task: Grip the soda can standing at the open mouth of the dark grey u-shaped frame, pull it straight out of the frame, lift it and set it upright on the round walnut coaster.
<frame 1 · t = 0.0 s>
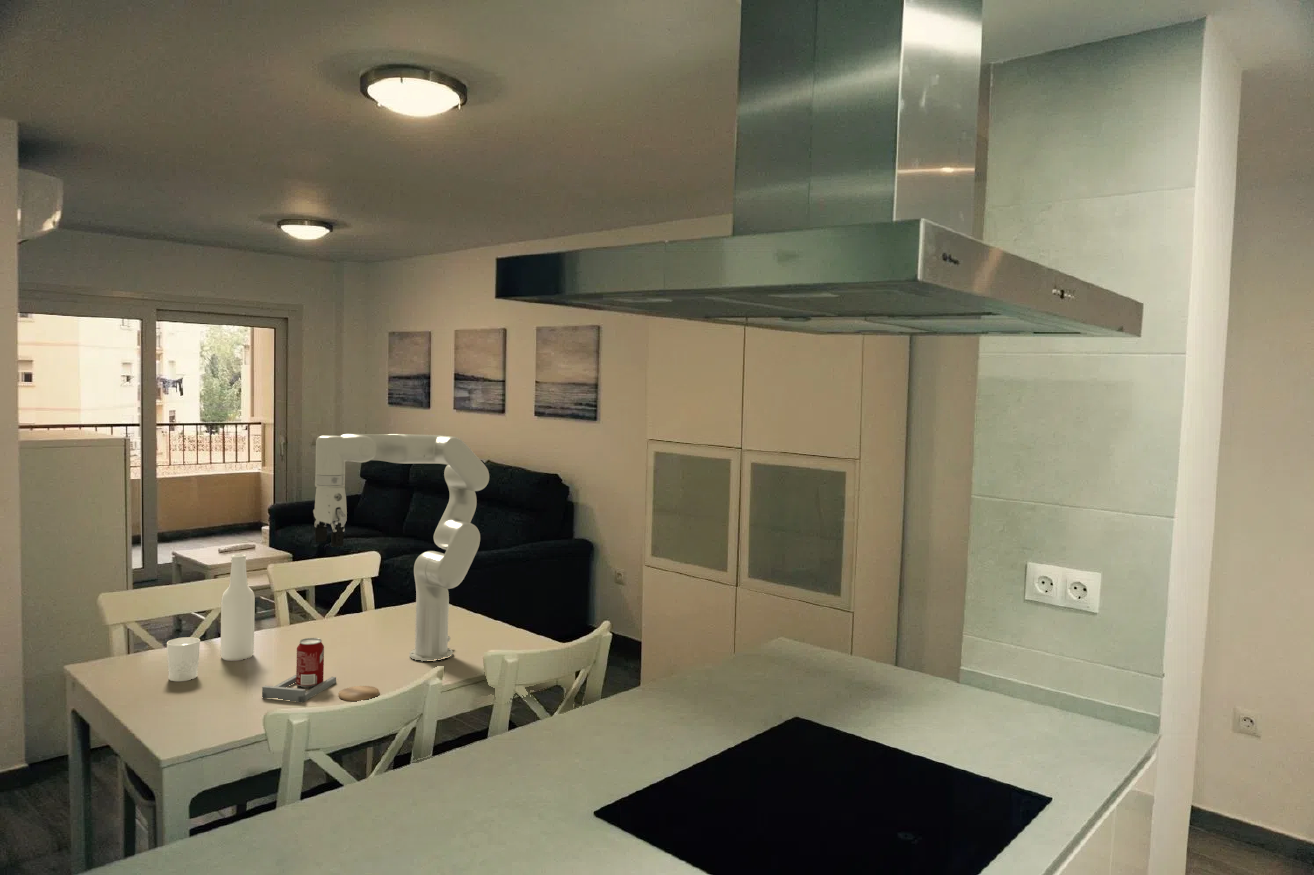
hand: (328, 543, 234), 37 cm above the table, tool pointing down, fingers open, 9 cm apart
soda can: (309, 685, 230), on the table
u-shaped frame: (300, 690, 226), on the table
alcohol: (237, 657, 252), on the table
white cup: (183, 678, 232), on the table
coaster: (358, 694, 224), on the table
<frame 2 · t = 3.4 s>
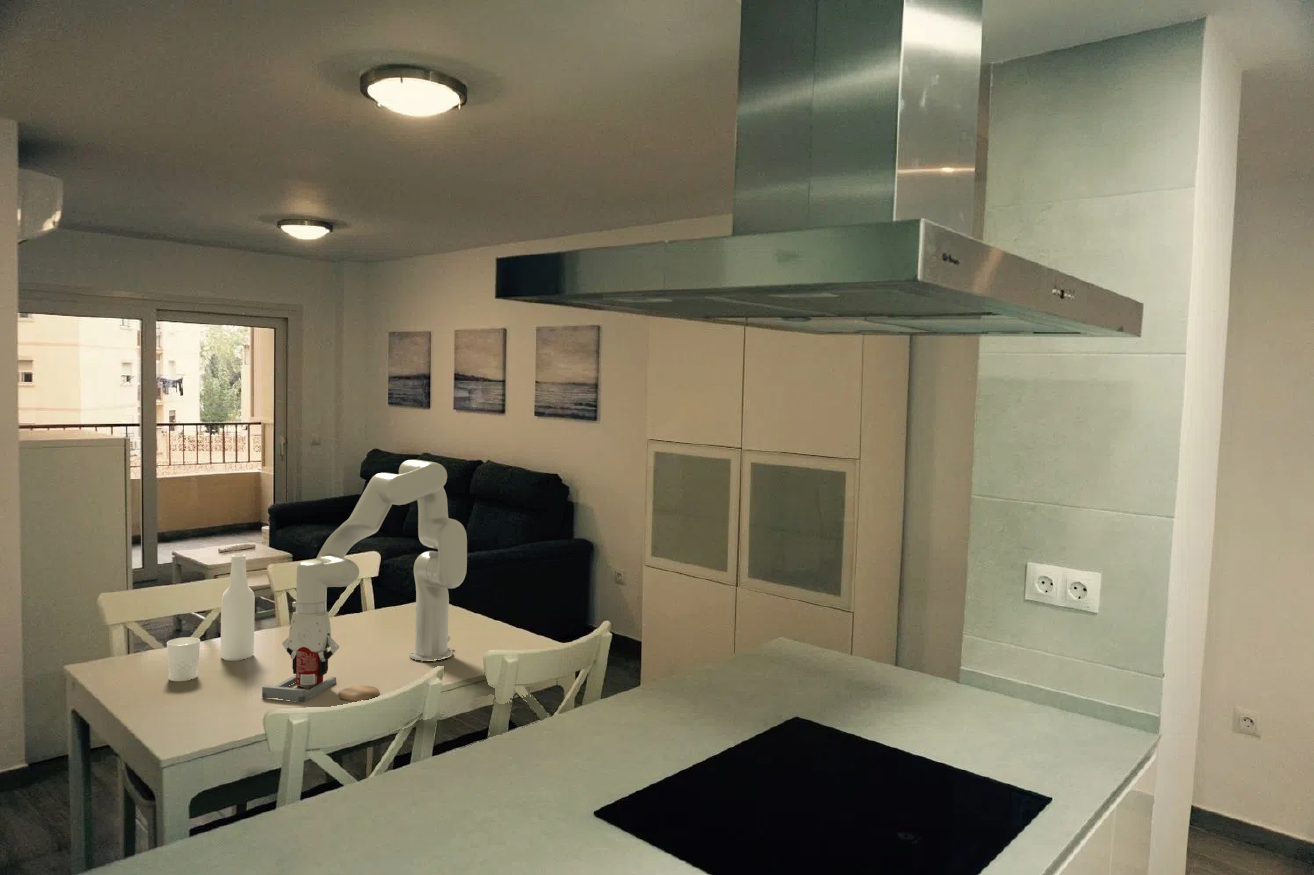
hand: (310, 672, 230), 3 cm above the table, tool pointing down, fingers closed on soda can, 6 cm apart
soda can: (309, 685, 230), on the table, touching gripper
everything else where it was.
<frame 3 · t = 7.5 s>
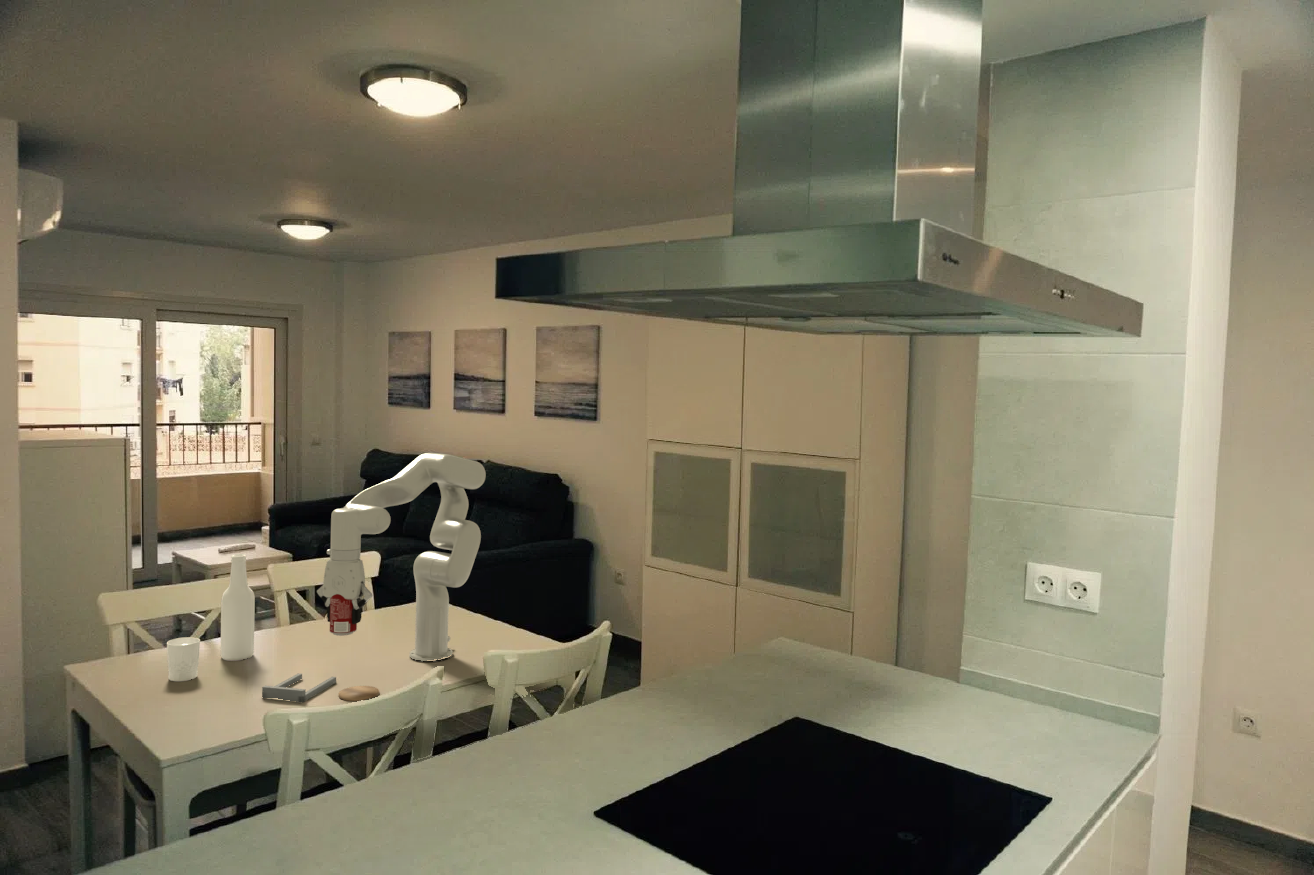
hand: (344, 621, 229), 18 cm above the table, tool pointing down, fingers closed on soda can, 6 cm apart
soda can: (343, 633, 229), point 14 cm above the table, touching gripper
everything else where it was.
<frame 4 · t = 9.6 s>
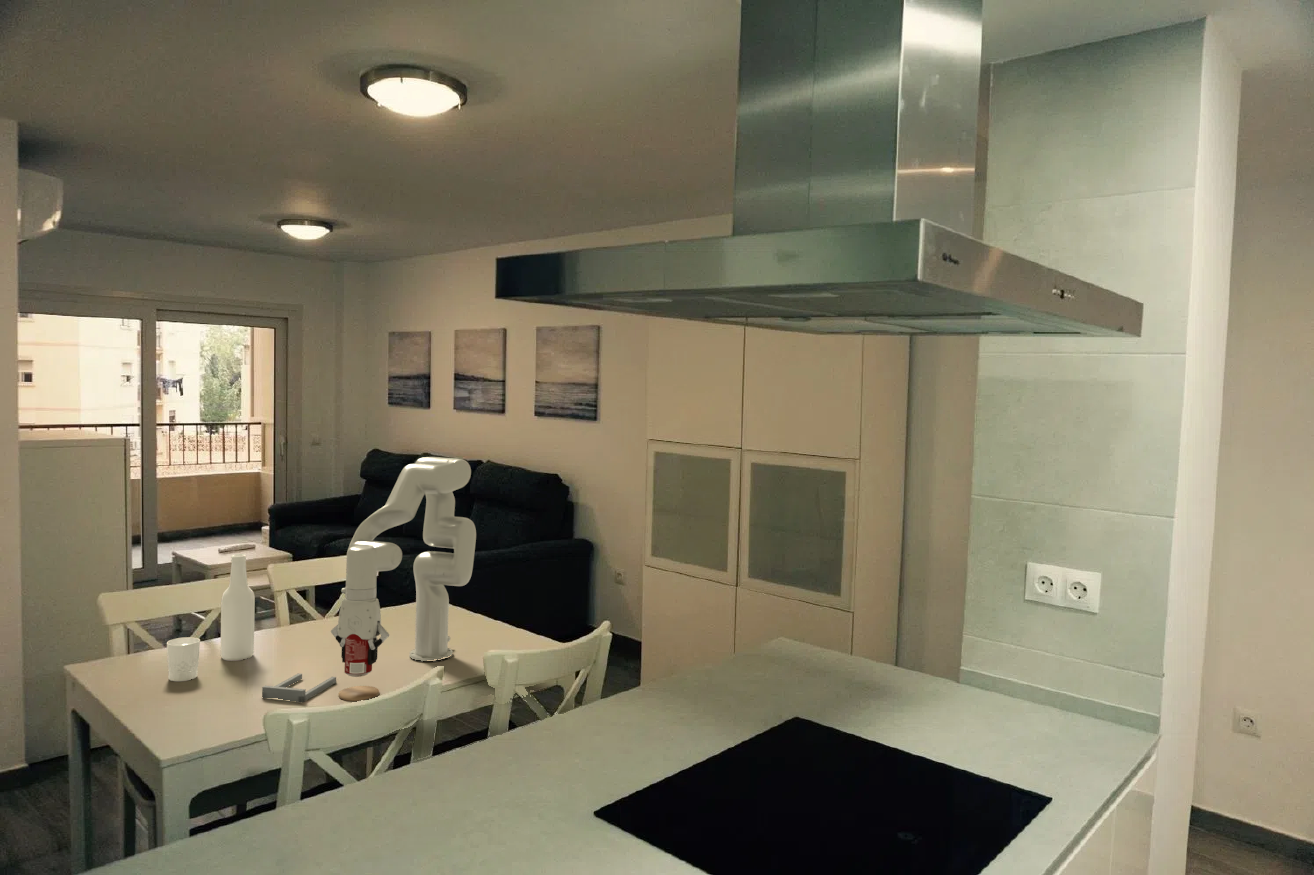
hand: (359, 661, 224), 9 cm above the table, tool pointing down, fingers closed on soda can, 6 cm apart
soda can: (358, 674, 224), point 5 cm above the table, touching gripper
everything else where it was.
when the fingers open (5 cm above the table, at t = 11.2 s): soda can drops 1 cm, resting on coaster.
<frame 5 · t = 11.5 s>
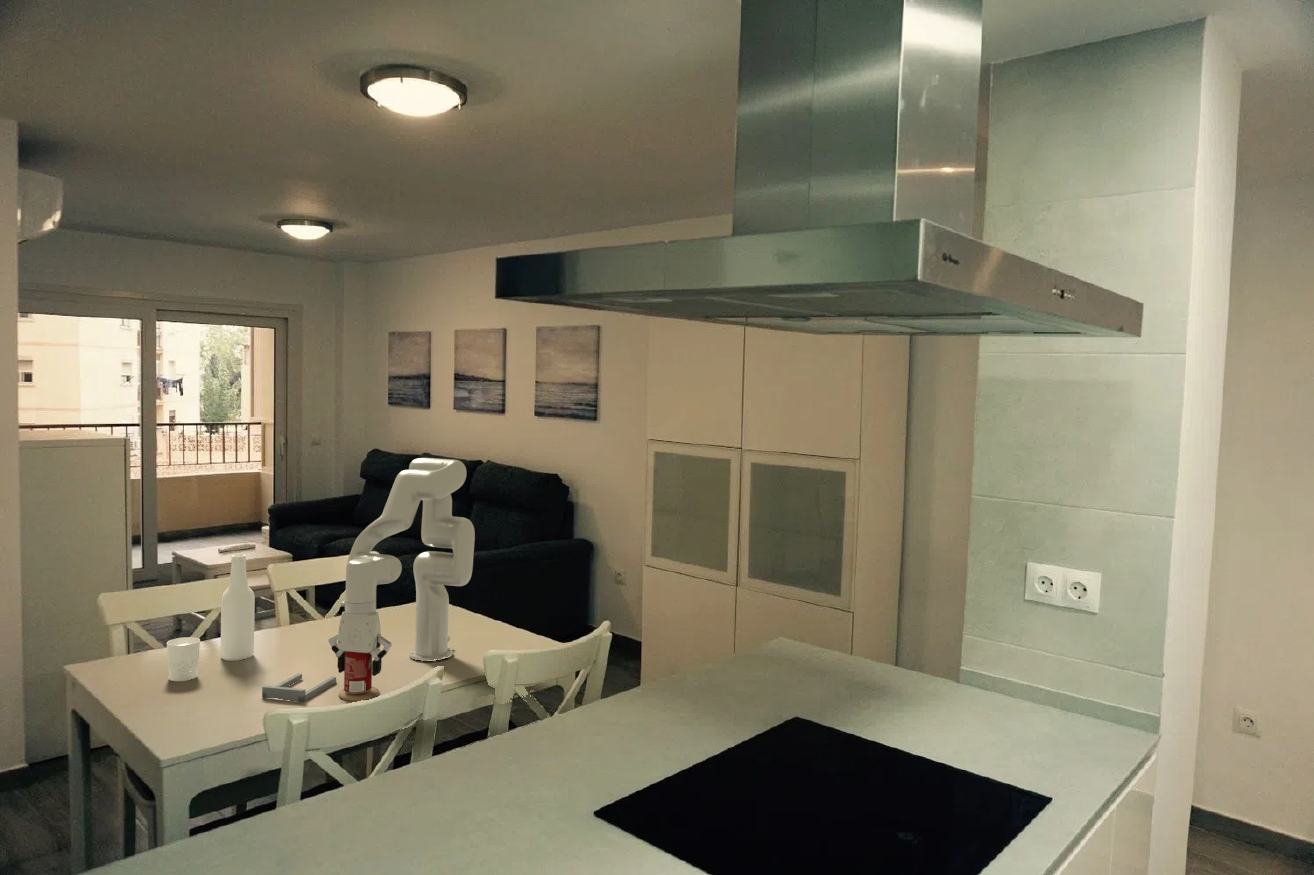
hand: (359, 672, 224), 6 cm above the table, tool pointing down, fingers open, 9 cm apart
soda can: (357, 692, 224), resting on coaster
everything else where it was.
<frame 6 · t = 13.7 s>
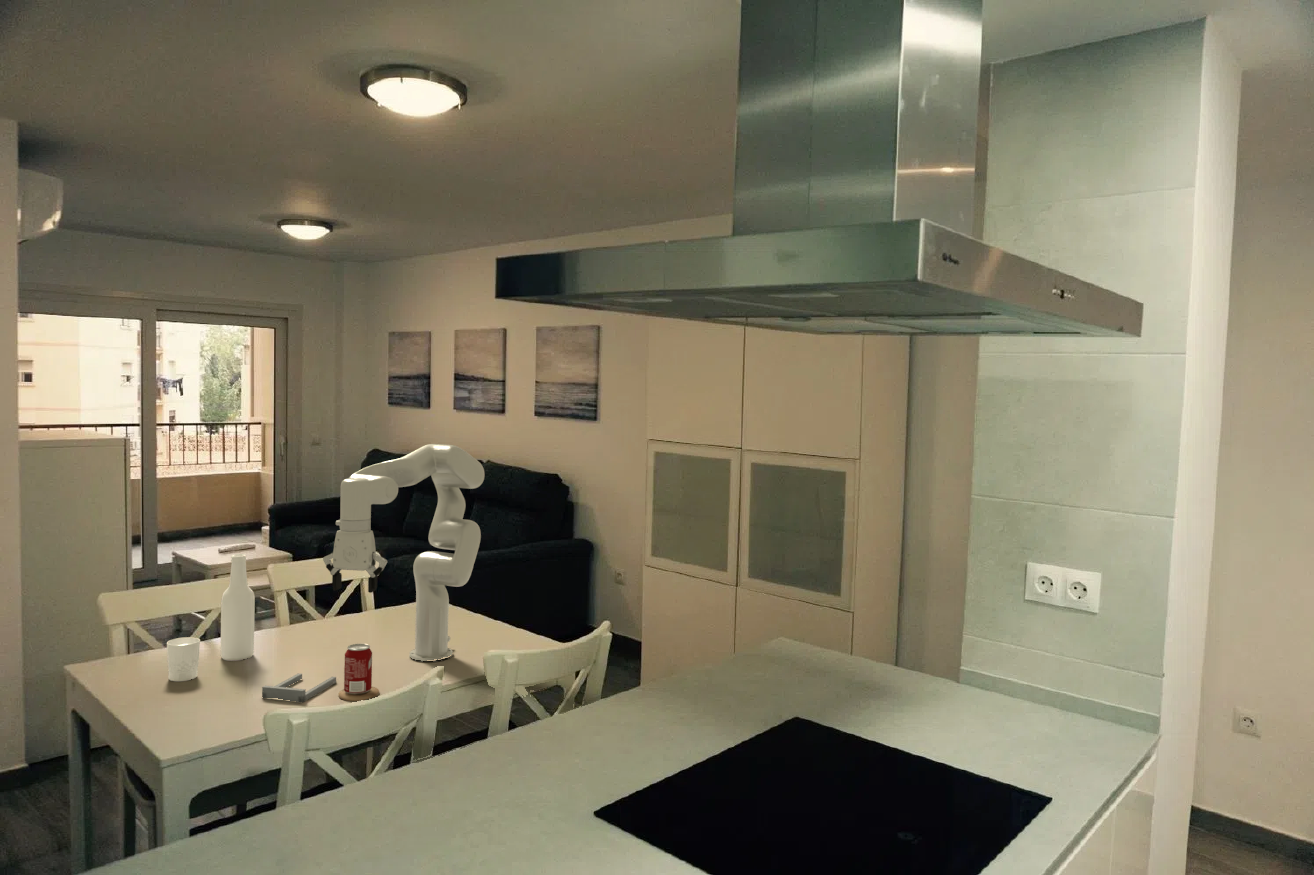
hand: (354, 590, 226), 27 cm above the table, tool pointing down, fingers open, 9 cm apart
nothing on the table moved.
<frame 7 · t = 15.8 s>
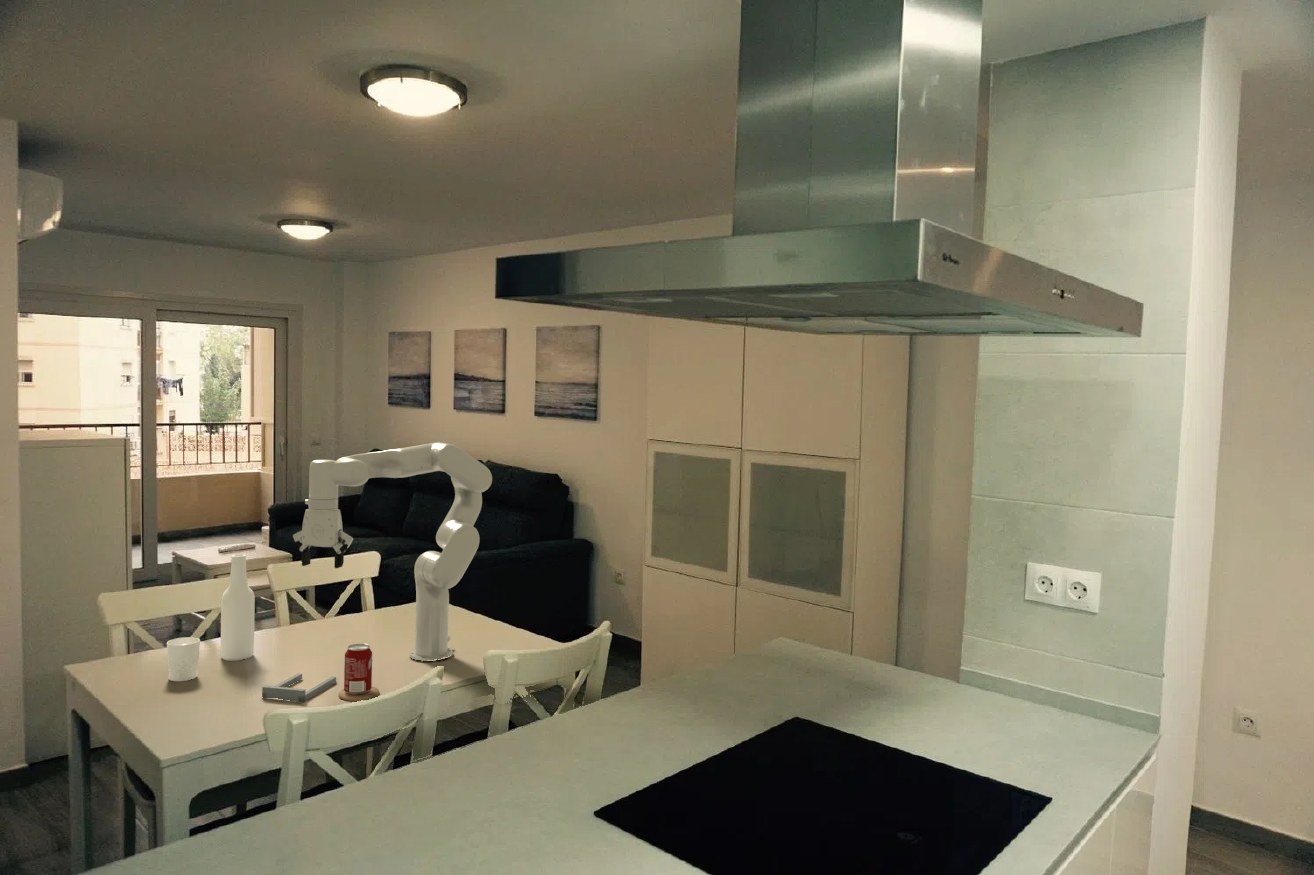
hand: (322, 566, 238), 30 cm above the table, tool pointing down, fingers open, 9 cm apart
nothing on the table moved.
at the end: soda can 0.4 cm from the coaster (horizontally); soda can tilted 0°; the gripper is holding nothing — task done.
